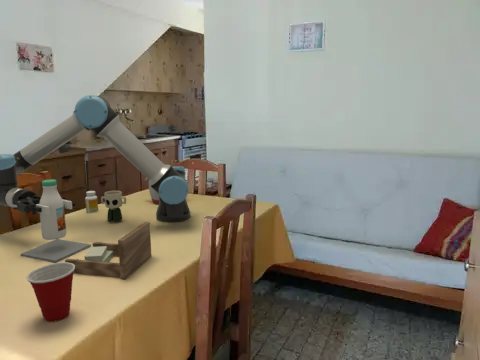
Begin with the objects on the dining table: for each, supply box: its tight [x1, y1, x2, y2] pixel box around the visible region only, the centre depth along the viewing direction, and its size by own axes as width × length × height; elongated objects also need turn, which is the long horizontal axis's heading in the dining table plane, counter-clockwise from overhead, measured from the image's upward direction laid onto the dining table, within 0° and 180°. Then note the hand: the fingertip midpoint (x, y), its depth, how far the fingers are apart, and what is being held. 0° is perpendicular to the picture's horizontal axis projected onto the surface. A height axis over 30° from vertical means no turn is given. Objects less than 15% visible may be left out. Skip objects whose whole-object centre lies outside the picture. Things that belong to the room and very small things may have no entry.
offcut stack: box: [84, 246, 115, 262], centre depth 132 cm, size 7×10×4 cm
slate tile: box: [19, 238, 92, 264], centre depth 142 cm, size 16×16×1 cm
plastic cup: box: [25, 261, 75, 322], centre depth 98 cm, size 11×11×12 cm
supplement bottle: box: [84, 190, 99, 214], centre depth 191 cm, size 5×5×10 cm
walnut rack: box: [64, 221, 152, 280], centre depth 129 cm, size 20×18×12 cm
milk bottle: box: [39, 179, 67, 241], centre depth 139 cm, size 8×8×20 cm
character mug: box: [100, 190, 127, 223], centre depth 175 cm, size 11×7×13 cm, turn 89°
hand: (60, 208), depth 136 cm, fingers closed on milk bottle, 8 cm apart
